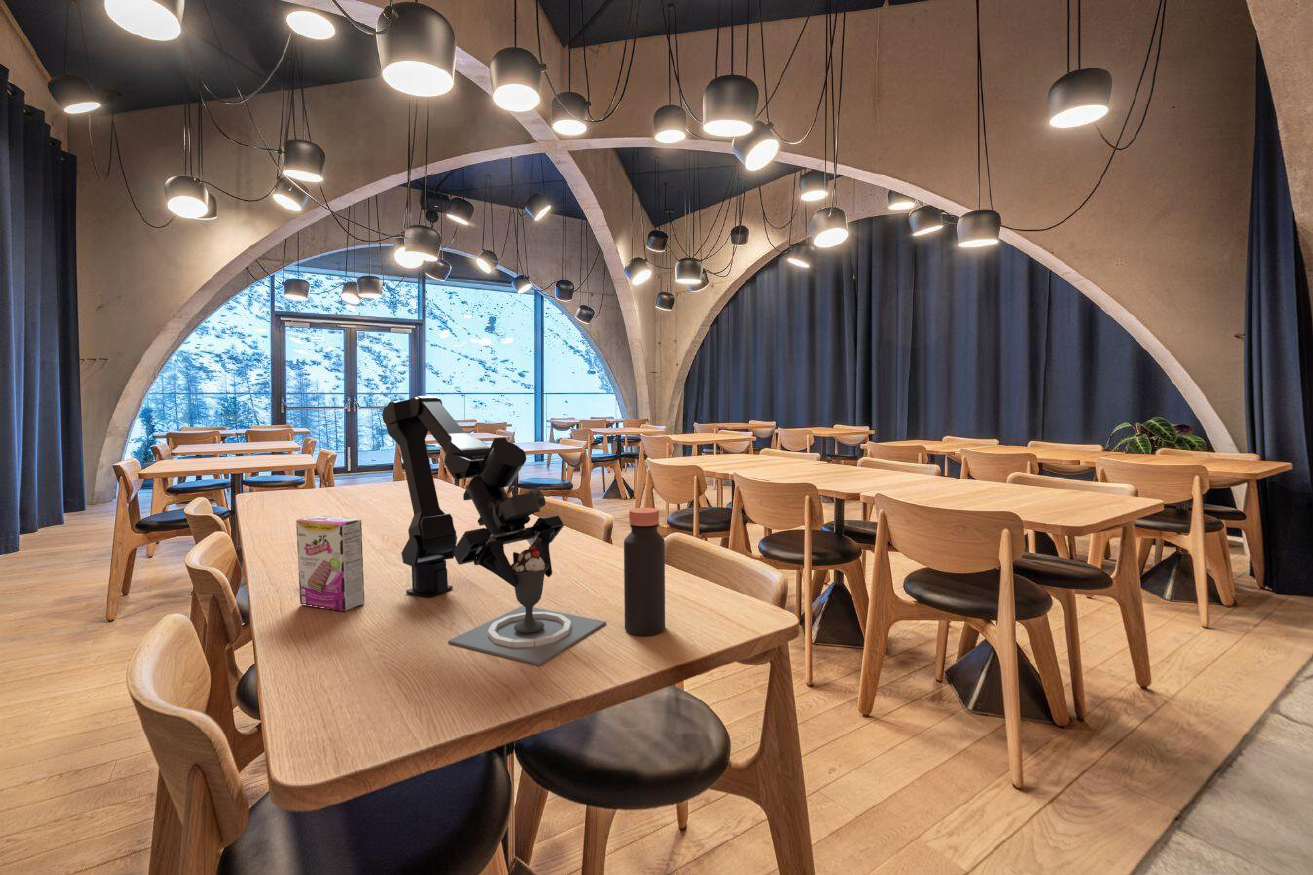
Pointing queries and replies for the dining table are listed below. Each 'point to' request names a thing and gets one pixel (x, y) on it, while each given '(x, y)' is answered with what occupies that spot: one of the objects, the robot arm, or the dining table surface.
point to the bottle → (644, 574)
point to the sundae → (529, 585)
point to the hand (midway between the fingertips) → (533, 580)
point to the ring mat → (528, 635)
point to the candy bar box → (330, 562)
